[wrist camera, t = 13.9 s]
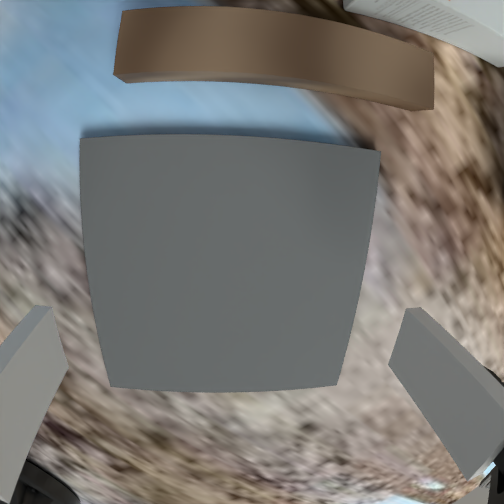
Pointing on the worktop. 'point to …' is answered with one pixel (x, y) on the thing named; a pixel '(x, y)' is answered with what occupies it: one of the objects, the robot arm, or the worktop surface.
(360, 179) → the charcoal mat
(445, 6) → the skincare box
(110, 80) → the worktop surface
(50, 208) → the worktop surface
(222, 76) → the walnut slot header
